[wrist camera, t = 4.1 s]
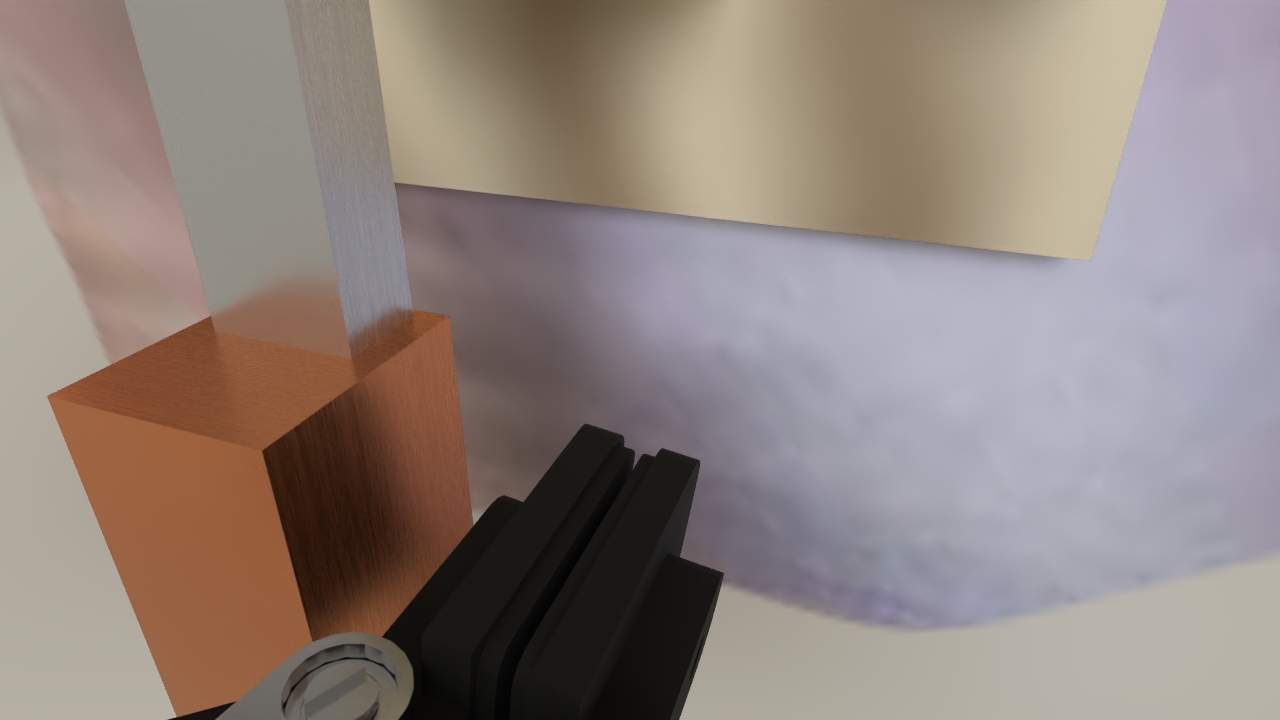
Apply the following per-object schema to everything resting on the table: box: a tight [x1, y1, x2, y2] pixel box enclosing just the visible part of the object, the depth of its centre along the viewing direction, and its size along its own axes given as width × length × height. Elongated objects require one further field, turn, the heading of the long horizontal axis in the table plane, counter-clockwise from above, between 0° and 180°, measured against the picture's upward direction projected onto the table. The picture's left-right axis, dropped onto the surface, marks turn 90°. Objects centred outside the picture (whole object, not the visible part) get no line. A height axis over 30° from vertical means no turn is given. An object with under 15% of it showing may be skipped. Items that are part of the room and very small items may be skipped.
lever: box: [47, 0, 473, 717], centre depth 8 cm, size 15×3×3 cm, turn 179°
